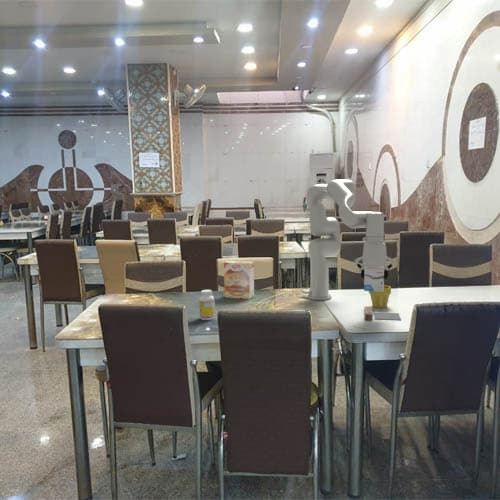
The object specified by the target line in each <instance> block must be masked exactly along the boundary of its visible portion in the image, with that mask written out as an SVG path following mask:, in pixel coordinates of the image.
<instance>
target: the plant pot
mask: <svg viewBox="0 0 500 500" xmlns="http://www.w3.org/2000/svg"><path fill="white" fill-rule="evenodd" d="M391 293H392V287H391V286H390V285H385V284H384V291H383V292H378V291H368V294H369V295H370V299H371V304H372V307H374V308H377V309H379V308H380V309H383V308H384V309H385V308H387V307H388V304H389V303H388V302H389V298H390V295H391Z"/></svg>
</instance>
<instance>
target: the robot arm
mask: <svg viewBox="0 0 500 500" xmlns="http://www.w3.org/2000/svg"><path fill="white" fill-rule="evenodd" d="M355 193H356V185H355V183H354V181H352V180H350V179H333V180H330V181H329V182H328V183H327V184H326V183H321V184H320V183H319V184H313V185H311V186H310V187H308V189H307V192H306V202H307V206H308V210H309V211H308V212H309V226H310V227H309V229H310V230H309V231H310V233H311V235H313V236H314V237H321V238H315V239H312V240H310V241H309V244H308V255H309V260H310V262H309V264H310V268H309V270H310V272H309V273H310V275H309V276H310V288H308V289H301V290H302V291H301V294H304V295H307V299H309V300H313V301H314V300H315V301H326V300H327V301H328V300H331V299H332V295H331V294H329V291H330V290H329V288H330V287H329V285H330V284H329V282H330V281H329V278H330V277H329V275H330V273H329V263H328V260H327V259H326V257H331V256H332V257H333V256H338V254H339V253H340V252H341V248H342V245H341V244H342V243H341V242H342V241H341V226H340V223H339V221H338V219H337V218H335V217H327V210H326V207H325V206H324V204H323V201H325V202H327V201H334V202H335V203H336V205H338V215H339V216H338V217H339V218H340V220H341V221H342V222H343V223H344V224H345V226H346V227H348V228H350V229H365V237H362V241H364V244H363V248H362V249H363V250H362V256H360V257H357V258H356V259H354V263H355V264H356V266H357V267H358V269H359V270H360V278H362V280H364V267H365V266H384V280H387V278H388V277H389V270H390V269H391V268H392V267H393V265H394V264H395V262H396V261H395V259H393V258H391V257H390V256H387V245H386V243H385V241H384V240H385V239H384V235H385V234H384V233H385V230H384V228H385V222H384V221H385V217H384V213H383V212H382V211H381V212H380V211H367V210H366V211H365V210H363V211H361V210H360V211H359V210H358V211H357V210H356V211H353V210H352V209H351V208H352V207H353V206H354V204H355V202H356V196H355ZM323 237H324V238H323ZM325 237H326V238H325ZM360 261H362V265H361V264H360ZM388 261H389V262H390V263H389V264H388ZM387 264H388V265H387Z"/></svg>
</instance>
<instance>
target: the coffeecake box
mask: <svg viewBox="0 0 500 500" xmlns="http://www.w3.org/2000/svg"><path fill="white" fill-rule="evenodd" d="M254 265H255V263H254V261H244V260H243V261H242V260H227V261H224V262H223V281H224V285H223V286H224V288H223V289H224V298H226V299H227V298H229V299H240V298H242V299H243V300H251V299H253V298H254V297H255V272H254V271H255V269H254V268H255V267H254ZM253 296H254V297H253ZM252 297H253V298H252ZM250 298H251V299H250Z"/></svg>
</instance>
